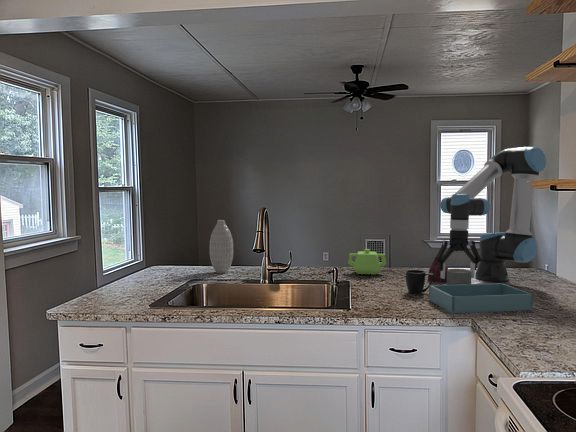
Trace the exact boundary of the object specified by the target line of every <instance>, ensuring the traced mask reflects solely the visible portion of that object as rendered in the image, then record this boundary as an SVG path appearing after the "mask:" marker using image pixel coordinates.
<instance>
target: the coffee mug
mask: <svg viewBox="0 0 576 432" xmlns="http://www.w3.org/2000/svg"><path fill="white" fill-rule="evenodd" d="M463 284H472V278H471V271H470V269H466V268H448V270H447V282H446V285H463Z"/></svg>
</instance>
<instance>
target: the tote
mask: <svg viewBox="0 0 576 432" xmlns="http://www.w3.org/2000/svg"><path fill="white" fill-rule="evenodd" d="M428 294H429V295H428V300H429V301H430V302H431V303H433V304H435V305H437V306H438V307H440V308H442V309H444V310H445V309H446V311H447V312H449V313H451V314H465V313H466V314H467V313H470V314H471V313H493V312H517V311H519V312H520V311H521V312H522V311H533V309H534V306H533V305H534V294H533V293H530V292H527V291H524V290H522V289H519V288H516V287H514V286H511V285H508V284H506V283H503V282H502V283H501V282H500V283H498V282H497V283H471V284H463V285H447V284H438V285H437V284H436V285H435V284H433V285H432V284H431V285H430V286H429V288H428Z"/></svg>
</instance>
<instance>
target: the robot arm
mask: <svg viewBox="0 0 576 432" xmlns="http://www.w3.org/2000/svg"><path fill="white" fill-rule="evenodd" d="M546 165H547V158H546V154H545V152H544V151H543V150H542V148H540V147H538V146H523V147H522V146H520V147H510V148H506V149H503V150H501V151H499V152H497V153H496V154H494V155H493V156H492V157H490V158H489V159H488V160H487V161H486V162H484V165H483V167H482V168H481V169H479V171H478V172H477V173H476V174H475V175H474V176H472V177H471V178H470V179H469V180H468V181H467V182H466V183H464V185H463V186H461V187H460V189H458V190H457V191H456V192H455V193H453V194H451V196H448V197H443V198H442V199H441V201H440V204H439V205H440V210H441V211H442V212H443V213H444V214H449V215H450V219H449V221H450V225H449V227H450V230H449V240H444V239H443V240H442V242H441V243H442V244H441V247H440V249H439V250H438V253H436V255H437V256H436V255H435V256H436V258H435V257H434V259H435V261H436V262H439V270H440V271H441V275H440V278H443V279H445V264H446V263H445V262H446V261H447V259H449V257H450V256H451V254H452V253H454V252H464V253H465V254H466V256H467V257H468V258H469V260H470V261H471V262H470V263H469V265H470V267H469V270H470V271H471V279H477V280H482V281H487V282H506V281H508V280H509V274H508V270H507V268H506V267H507V266H506V262H505V261H511V262H516V263H525V264H526V263H529V262H531V261H532V260H533V259H534V258H535V256H536V253H537V251H538V244H537V241H536V239H534V238H533V236H534V235H533V233H532V232H531V231H530V230H531V229H530V227H531V218H532V210H533V209H532V208H533V199H534V189H535V187H534V188H533V187H532V184H531V182H527V181H534V182H535V180H537V178H539V177H540V172H542V171H544V169H545V168H546ZM507 173H508V174H509V173H510V174H511V177H512V178H513V180H514V181H513V188H512V190H513V191H512V199H511V208H510V217H509V218H510V219H509V228H508V229H507V230H506V231H505V232H503V231H501V232H500V231H498V232H487V233H481V234H480V238H479V252H478V250H477V247H476V241H475V240H473V239H472V240H471V239H470V240H469V230H468V229H469V228H470V227H469V223H470V222H469V220H470V219H469V218H470V216H479V217H481V216H486V215H487V214H488V213H489V212H490V210H491V204H490V202H489V200H487V199H486V198H483V197H479V198H476V197H477V196H478V195H479V194H480V193H481V192H482V191H484V189H486V187H488V186H489V185H490V184H491V183H492V182H493V181H494V180H495V179H496V178H500V177H501V176H502V175H504V174H507ZM448 246H449V247H448ZM467 246H469V248H470V249H469V248H468V247H467ZM447 248H448V249H447ZM470 250H471V251H470ZM444 263H445V264H444ZM477 264H478V265H477Z"/></svg>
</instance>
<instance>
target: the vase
mask: <svg viewBox="0 0 576 432" xmlns="http://www.w3.org/2000/svg"><path fill="white" fill-rule="evenodd" d="M216 221H217V222H216V224H215V226H214V228H213V230H212V232H211V234H210V239H209V249H208V250H209V259H210V262H211V267H212V268H213V270H214V271H215V273H217V274H227V273H228V271H229V270H230V268H231V266H232V262H233V260H234V239H233V236H232V233H231V231H230V229H229V227H228V226H227V224H226V221H225V220H224V219H218V220H216Z"/></svg>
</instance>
